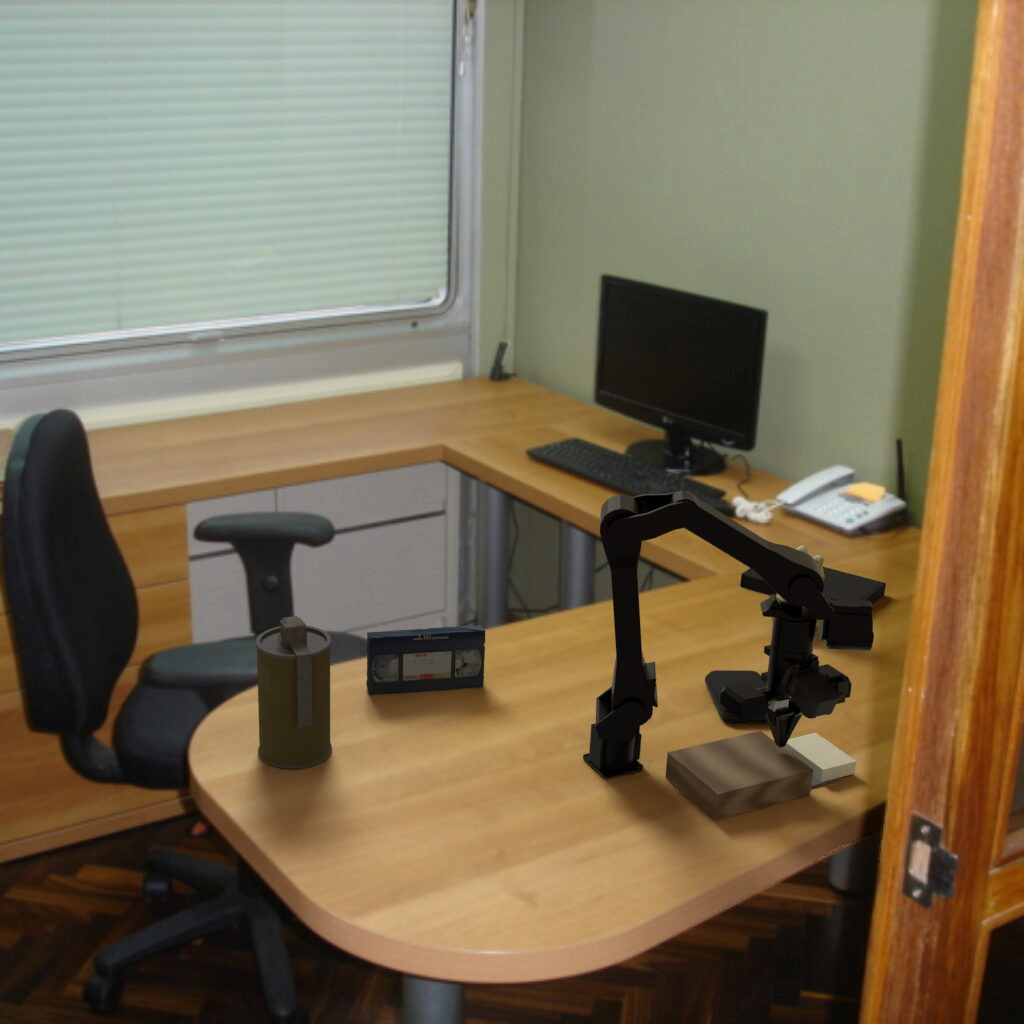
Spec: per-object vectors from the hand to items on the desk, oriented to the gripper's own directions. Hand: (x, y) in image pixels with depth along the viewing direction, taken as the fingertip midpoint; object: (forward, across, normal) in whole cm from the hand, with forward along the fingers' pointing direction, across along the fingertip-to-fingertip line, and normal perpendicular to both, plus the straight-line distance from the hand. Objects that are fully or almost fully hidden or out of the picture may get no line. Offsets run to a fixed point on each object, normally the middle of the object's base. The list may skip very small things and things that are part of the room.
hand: (780, 745), depth 193 cm
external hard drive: (+6, +49, +53) cm, 72 cm away
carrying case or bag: (+6, +9, +20) cm, 23 cm away
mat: (+5, +5, 0) cm, 7 cm away
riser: (+5, -7, 0) cm, 8 cm away
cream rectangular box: (+3, +8, 0) cm, 8 cm away
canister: (+5, -60, +33) cm, 69 cm away
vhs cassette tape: (+5, -35, +44) cm, 56 cm away
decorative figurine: (+5, +34, +40) cm, 53 cm away
